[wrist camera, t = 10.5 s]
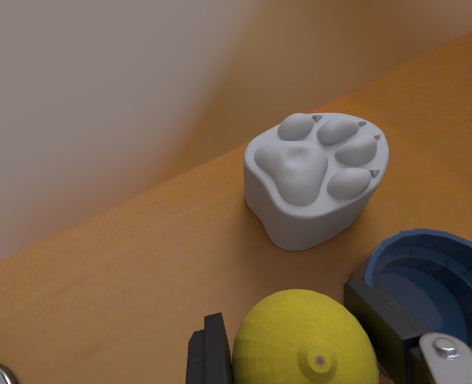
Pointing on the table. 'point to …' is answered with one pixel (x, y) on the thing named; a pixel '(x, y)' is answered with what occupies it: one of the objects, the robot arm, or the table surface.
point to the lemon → (302, 343)
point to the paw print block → (313, 176)
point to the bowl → (425, 278)
